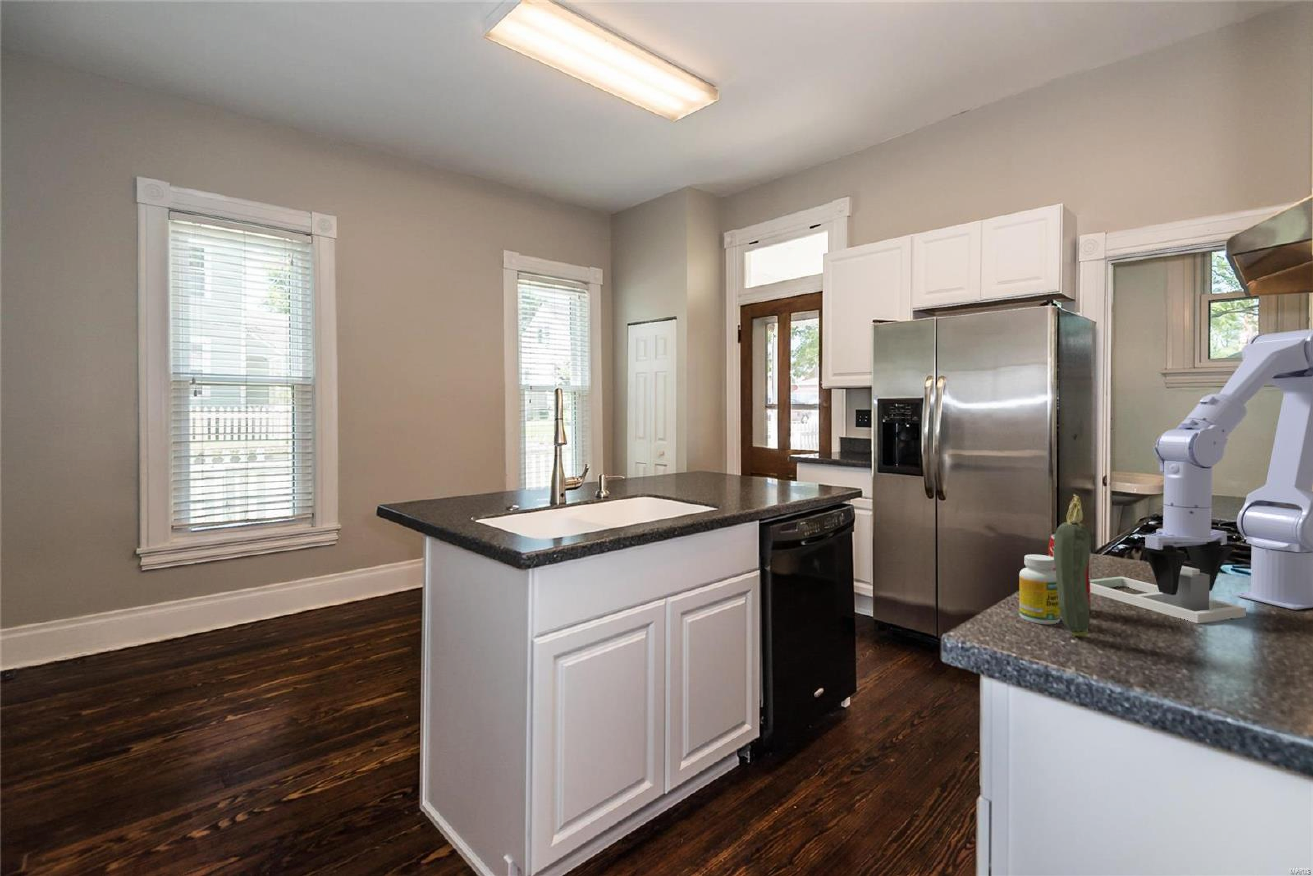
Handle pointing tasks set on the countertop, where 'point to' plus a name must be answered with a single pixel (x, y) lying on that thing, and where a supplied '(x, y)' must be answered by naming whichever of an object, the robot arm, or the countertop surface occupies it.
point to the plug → (1190, 590)
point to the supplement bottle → (1039, 590)
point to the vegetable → (1073, 569)
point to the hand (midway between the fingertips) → (1185, 591)
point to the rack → (1155, 599)
